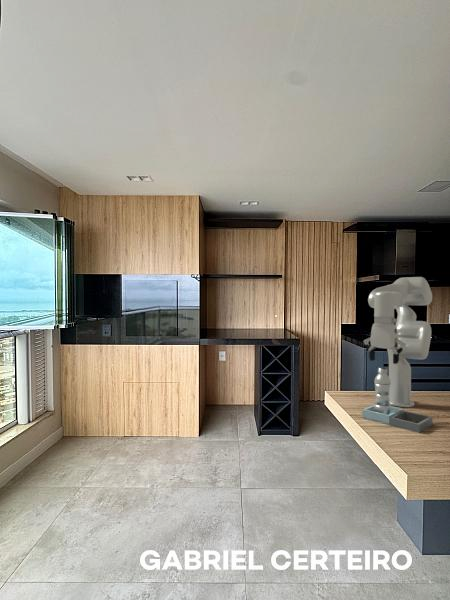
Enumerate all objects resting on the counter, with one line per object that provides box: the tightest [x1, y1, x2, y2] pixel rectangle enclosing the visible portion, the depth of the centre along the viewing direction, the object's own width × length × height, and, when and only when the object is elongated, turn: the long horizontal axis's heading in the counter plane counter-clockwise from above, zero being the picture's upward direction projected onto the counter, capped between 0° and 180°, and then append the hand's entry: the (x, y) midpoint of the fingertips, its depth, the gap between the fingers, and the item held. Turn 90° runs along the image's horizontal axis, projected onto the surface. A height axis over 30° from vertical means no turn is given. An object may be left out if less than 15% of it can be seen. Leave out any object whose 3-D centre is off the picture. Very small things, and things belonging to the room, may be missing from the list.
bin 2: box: [388, 410, 433, 434], centre depth 139 cm, size 14×11×3 cm
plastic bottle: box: [373, 367, 391, 415], centre depth 147 cm, size 6×7×20 cm
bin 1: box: [361, 404, 405, 426], centre depth 147 cm, size 14×11×4 cm
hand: (383, 361), depth 147 cm, fingers open, 9 cm apart
